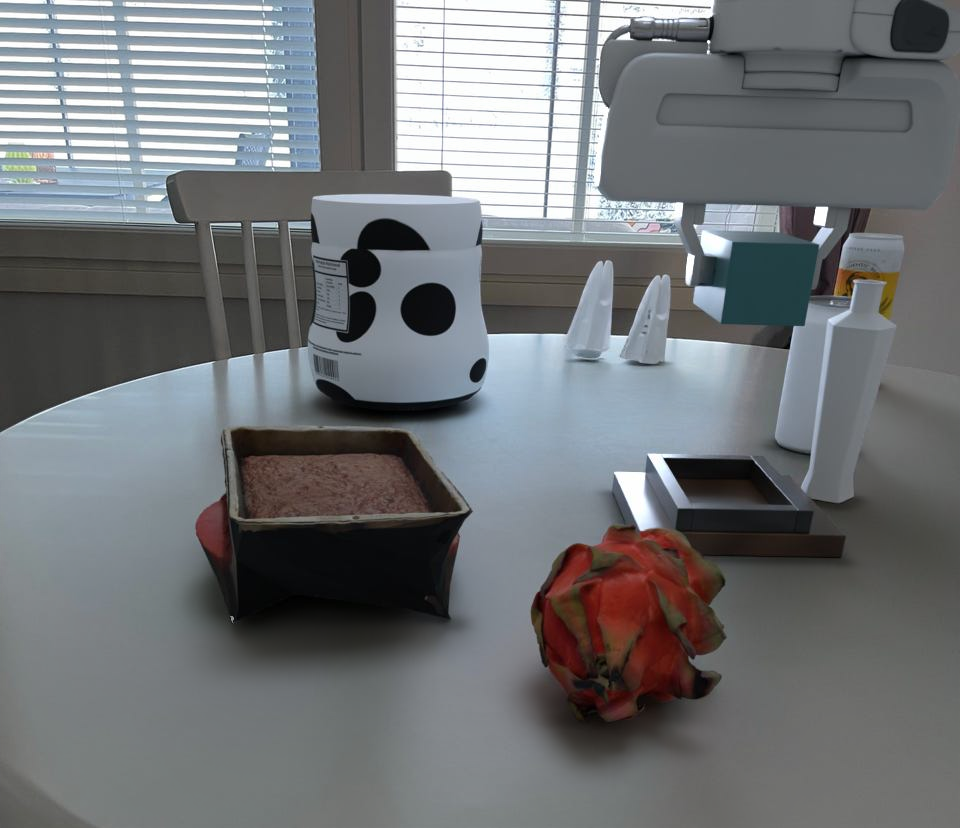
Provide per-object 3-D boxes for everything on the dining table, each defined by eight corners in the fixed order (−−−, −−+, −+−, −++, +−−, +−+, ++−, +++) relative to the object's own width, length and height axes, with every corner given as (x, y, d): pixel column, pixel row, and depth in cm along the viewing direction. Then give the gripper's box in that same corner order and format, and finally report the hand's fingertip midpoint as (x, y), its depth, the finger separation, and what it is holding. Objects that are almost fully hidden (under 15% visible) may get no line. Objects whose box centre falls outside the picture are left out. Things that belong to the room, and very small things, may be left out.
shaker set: (562, 362, 110) (568, 261, 105) (564, 355, 114) (570, 257, 108) (665, 367, 109) (677, 265, 103) (664, 360, 112) (675, 261, 107)
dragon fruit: (658, 659, 50) (602, 816, 41) (537, 558, 49) (453, 696, 40) (775, 564, 45) (740, 721, 36) (640, 449, 44) (569, 580, 35)
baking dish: (444, 555, 63) (429, 404, 60) (493, 643, 46) (476, 440, 43) (226, 582, 61) (198, 427, 58) (196, 683, 45) (154, 474, 41)
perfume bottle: (864, 507, 68) (914, 287, 61) (801, 502, 68) (844, 284, 61) (853, 486, 72) (899, 279, 65) (794, 482, 72) (833, 276, 65)
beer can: (810, 381, 104) (838, 234, 97) (827, 372, 108) (854, 231, 101) (866, 389, 101) (899, 239, 94) (881, 380, 105) (913, 235, 98)
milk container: (500, 385, 98) (506, 197, 90) (470, 429, 83) (473, 207, 75) (342, 375, 101) (333, 191, 92) (285, 416, 86) (268, 200, 77)
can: (769, 450, 80) (795, 302, 74) (777, 431, 85) (802, 292, 79) (849, 460, 78) (882, 309, 72) (852, 440, 83) (883, 298, 77)
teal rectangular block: (767, 305, 62) (779, 232, 60) (804, 326, 55) (819, 244, 53) (692, 303, 62) (702, 230, 60) (720, 324, 55) (732, 241, 53)
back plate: (785, 494, 70) (792, 455, 68) (841, 557, 59) (851, 512, 58) (612, 491, 70) (615, 451, 68) (637, 554, 59) (642, 509, 58)
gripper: (610, 7, 48) (588, 289, 55) (1000, 19, 49) (933, 298, 55) (596, 21, 54) (578, 276, 61) (946, 32, 54) (891, 284, 61)
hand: (750, 287), depth 58 cm, fingers closed on teal rectangular block, 5 cm apart
